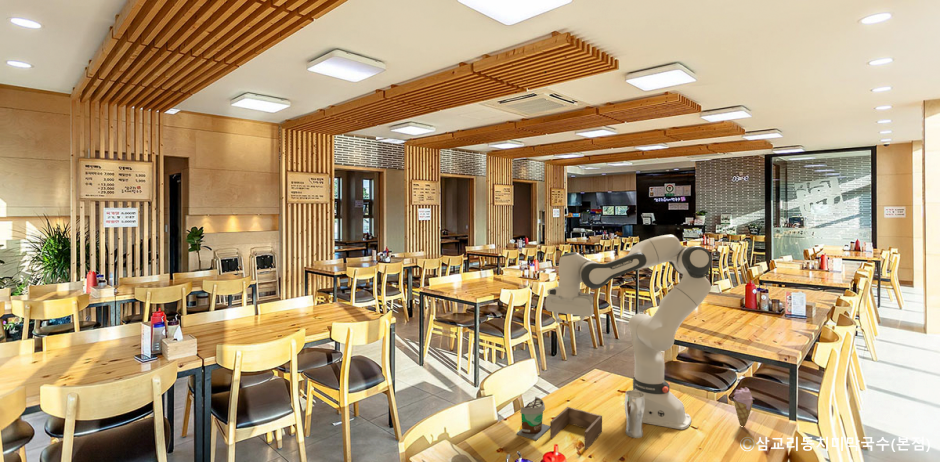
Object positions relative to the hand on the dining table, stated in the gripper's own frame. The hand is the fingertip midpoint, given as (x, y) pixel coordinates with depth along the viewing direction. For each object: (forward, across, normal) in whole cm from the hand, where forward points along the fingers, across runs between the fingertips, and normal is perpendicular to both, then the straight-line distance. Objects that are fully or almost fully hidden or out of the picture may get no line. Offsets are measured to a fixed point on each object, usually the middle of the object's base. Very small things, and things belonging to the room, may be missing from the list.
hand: (568, 324), depth 191 cm
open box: (+34, -13, +23) cm, 43 cm away
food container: (+34, 0, +29) cm, 45 cm away
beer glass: (+34, -30, +10) cm, 47 cm away
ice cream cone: (+34, -62, -19) cm, 73 cm away
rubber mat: (+34, +1, +29) cm, 45 cm away
